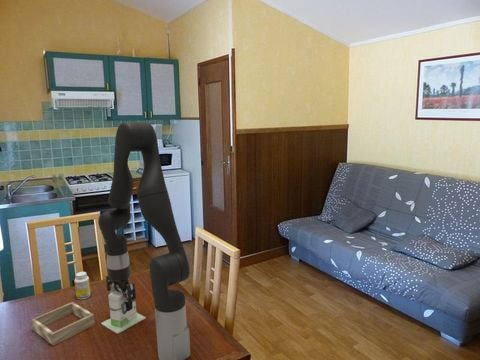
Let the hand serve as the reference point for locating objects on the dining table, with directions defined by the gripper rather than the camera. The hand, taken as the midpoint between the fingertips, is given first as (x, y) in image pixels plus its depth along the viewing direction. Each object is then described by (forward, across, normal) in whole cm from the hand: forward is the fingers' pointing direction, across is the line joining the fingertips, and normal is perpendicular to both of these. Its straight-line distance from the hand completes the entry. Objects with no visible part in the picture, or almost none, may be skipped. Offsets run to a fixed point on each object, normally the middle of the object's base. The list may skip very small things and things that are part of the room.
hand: (122, 306), depth 137 cm
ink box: (+6, 0, 0) cm, 6 cm away
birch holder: (+6, +14, +15) cm, 21 cm away
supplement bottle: (+6, +29, -1) cm, 30 cm away
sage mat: (+6, 0, 0) cm, 6 cm away
